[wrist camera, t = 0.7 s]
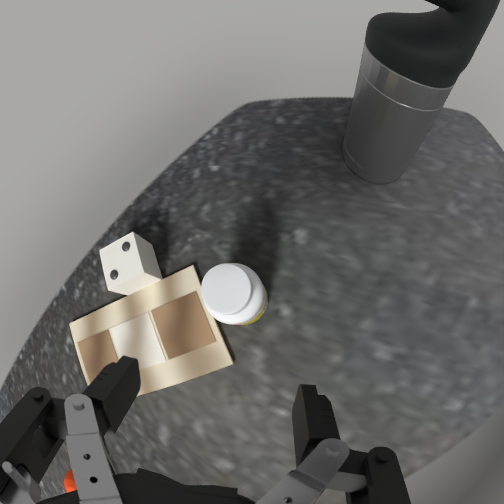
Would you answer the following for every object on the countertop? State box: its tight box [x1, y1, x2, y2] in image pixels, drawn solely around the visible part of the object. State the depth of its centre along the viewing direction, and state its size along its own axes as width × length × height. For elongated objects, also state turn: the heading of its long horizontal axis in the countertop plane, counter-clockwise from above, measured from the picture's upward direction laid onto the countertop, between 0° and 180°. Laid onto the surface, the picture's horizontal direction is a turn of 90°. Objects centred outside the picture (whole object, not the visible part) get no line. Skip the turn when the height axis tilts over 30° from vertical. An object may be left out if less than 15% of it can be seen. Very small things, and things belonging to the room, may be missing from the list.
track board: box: [70, 265, 234, 396], centre depth 30 cm, size 20×12×1 cm, turn 114°
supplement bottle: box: [201, 263, 268, 325], centre depth 26 cm, size 5×5×10 cm
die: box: [99, 232, 163, 295], centre depth 30 cm, size 5×5×5 cm
